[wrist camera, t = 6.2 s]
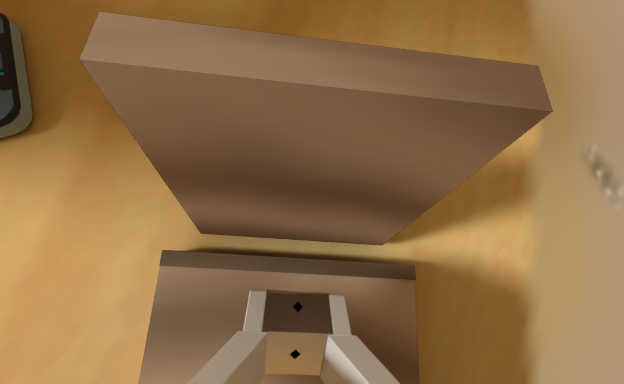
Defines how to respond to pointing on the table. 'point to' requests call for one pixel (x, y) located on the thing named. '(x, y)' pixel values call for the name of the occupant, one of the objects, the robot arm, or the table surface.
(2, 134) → the smartphone
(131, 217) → the table surface
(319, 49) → the walnut plank
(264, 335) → the robot arm
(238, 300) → the laid board
